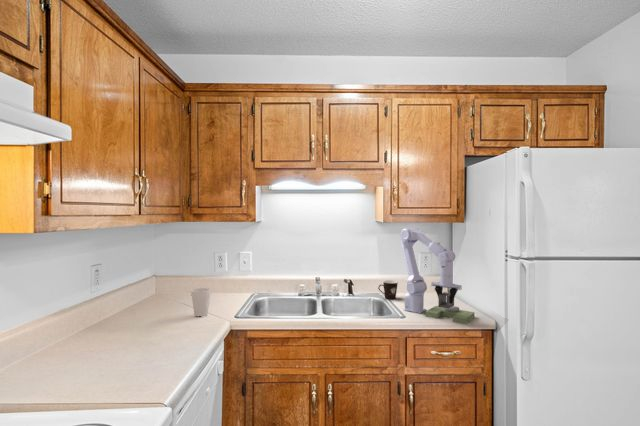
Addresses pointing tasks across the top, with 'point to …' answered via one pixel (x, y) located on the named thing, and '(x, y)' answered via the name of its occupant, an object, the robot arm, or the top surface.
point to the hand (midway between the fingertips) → (446, 302)
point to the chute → (443, 302)
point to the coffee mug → (389, 289)
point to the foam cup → (200, 301)
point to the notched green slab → (451, 314)
